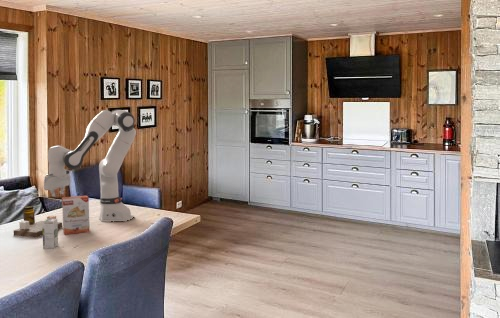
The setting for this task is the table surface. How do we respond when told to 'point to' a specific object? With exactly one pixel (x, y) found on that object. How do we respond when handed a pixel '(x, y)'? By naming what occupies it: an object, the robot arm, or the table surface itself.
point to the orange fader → (51, 217)
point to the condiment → (29, 214)
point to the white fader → (24, 224)
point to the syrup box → (50, 233)
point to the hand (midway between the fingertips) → (57, 195)
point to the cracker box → (75, 214)
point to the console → (33, 230)
